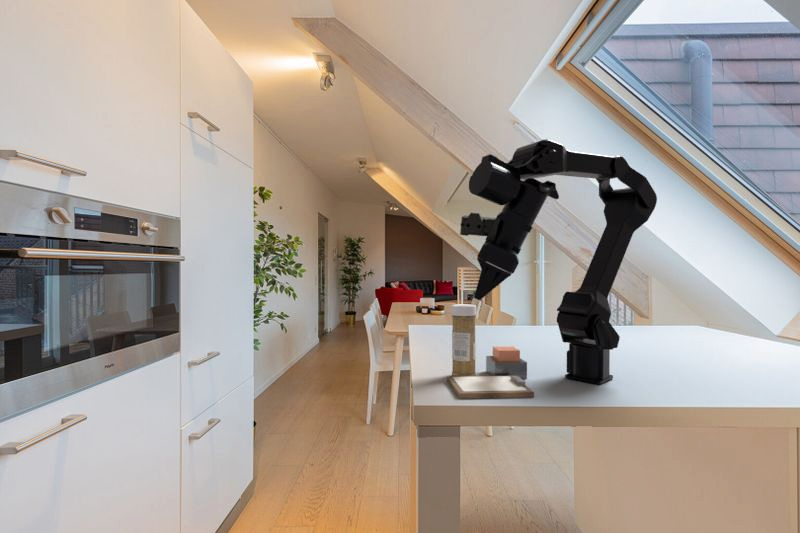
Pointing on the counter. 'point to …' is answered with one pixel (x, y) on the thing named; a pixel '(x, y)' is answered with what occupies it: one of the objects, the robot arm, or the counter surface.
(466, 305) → the sprinkles bottle
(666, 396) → the counter surface
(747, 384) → the counter surface
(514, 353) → the button
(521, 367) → the button housing
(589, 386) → the counter surface
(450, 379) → the clipboard
